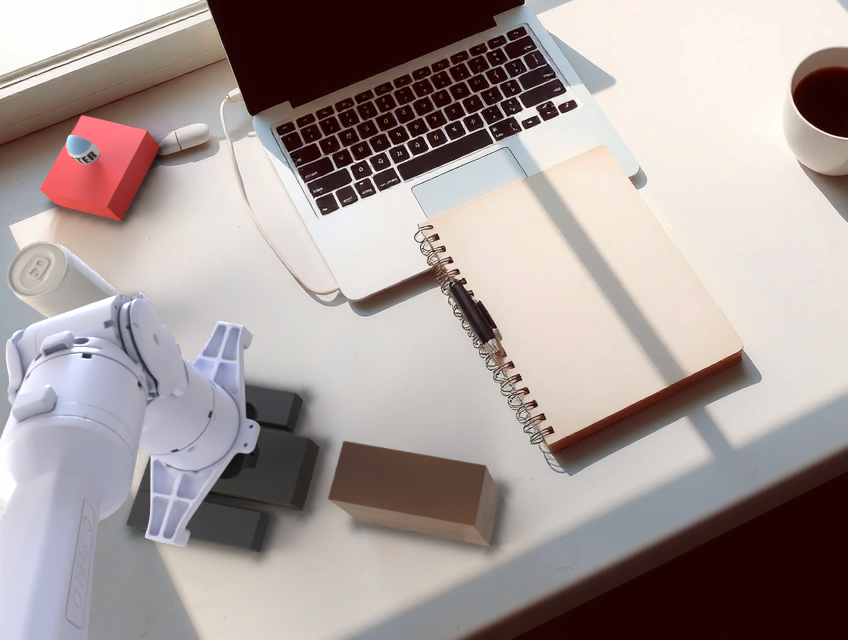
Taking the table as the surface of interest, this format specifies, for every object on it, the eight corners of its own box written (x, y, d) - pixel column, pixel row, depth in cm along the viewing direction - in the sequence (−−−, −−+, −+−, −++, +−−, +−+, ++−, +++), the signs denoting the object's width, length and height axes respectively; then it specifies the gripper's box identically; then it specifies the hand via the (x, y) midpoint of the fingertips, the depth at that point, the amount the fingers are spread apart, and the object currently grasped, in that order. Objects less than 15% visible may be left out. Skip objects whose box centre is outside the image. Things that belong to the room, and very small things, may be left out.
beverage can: (75, 342, 78) (-9, 286, 67) (105, 292, 80) (28, 230, 69) (122, 361, 77) (45, 308, 66) (152, 310, 79) (81, 250, 68)
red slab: (121, 221, 83) (86, 186, 77) (56, 204, 84) (16, 169, 79) (160, 146, 86) (129, 108, 80) (96, 131, 87) (61, 92, 82)
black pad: (302, 511, 71) (291, 504, 68) (205, 493, 72) (189, 485, 69) (320, 446, 73) (309, 437, 70) (224, 430, 74) (210, 420, 71)
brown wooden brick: (489, 546, 69) (474, 526, 60) (360, 522, 70) (327, 499, 62) (499, 492, 70) (486, 465, 62) (373, 469, 72) (343, 440, 63)
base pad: (259, 552, 70) (250, 549, 68) (137, 529, 71) (125, 524, 69) (303, 399, 75) (296, 392, 73) (188, 380, 76) (178, 372, 74)
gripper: (191, 542, 53) (267, 569, 65) (265, 307, 59) (322, 373, 71) (78, 520, 54) (174, 551, 66) (162, 292, 60) (235, 359, 72)
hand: (244, 458), depth 69 cm, fingers closed
